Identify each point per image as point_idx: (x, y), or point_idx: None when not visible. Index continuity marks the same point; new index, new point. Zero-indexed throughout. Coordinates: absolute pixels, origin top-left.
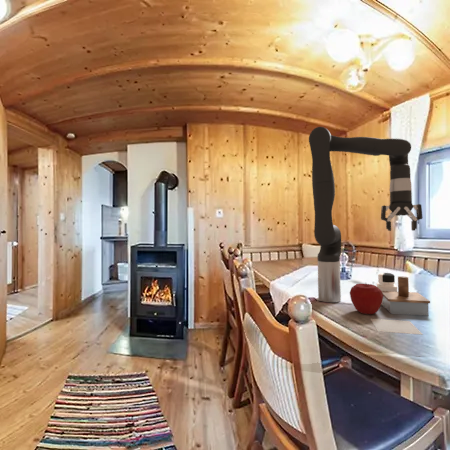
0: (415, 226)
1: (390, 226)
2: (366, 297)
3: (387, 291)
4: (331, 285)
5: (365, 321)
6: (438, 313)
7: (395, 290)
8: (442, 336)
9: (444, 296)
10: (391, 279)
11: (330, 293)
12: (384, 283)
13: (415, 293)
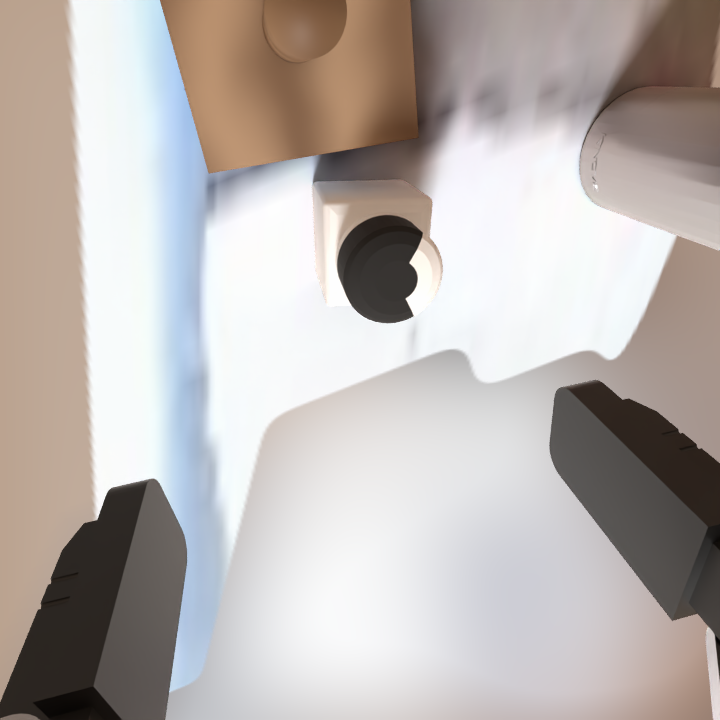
0: (83, 569)
1: (625, 430)
2: None
3: (379, 139)
4: (710, 92)
5: None
6: (109, 50)
7: (330, 196)
8: None
9: (96, 436)
10: (362, 230)
11: (676, 89)
12: (398, 215)
13: (219, 134)
